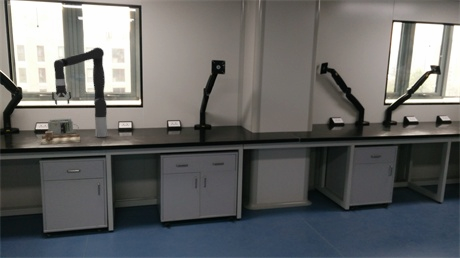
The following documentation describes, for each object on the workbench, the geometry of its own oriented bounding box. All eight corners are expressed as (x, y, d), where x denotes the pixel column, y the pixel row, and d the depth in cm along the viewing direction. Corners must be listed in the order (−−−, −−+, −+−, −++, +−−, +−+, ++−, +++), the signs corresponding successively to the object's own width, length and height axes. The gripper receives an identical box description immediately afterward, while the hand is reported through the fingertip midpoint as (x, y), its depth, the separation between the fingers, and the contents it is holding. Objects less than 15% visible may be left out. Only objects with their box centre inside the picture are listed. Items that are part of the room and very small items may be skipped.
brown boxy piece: (53, 138, 294) (52, 130, 293) (52, 140, 285) (52, 133, 284) (46, 138, 292) (45, 131, 291) (45, 141, 283) (44, 133, 282)
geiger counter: (48, 119, 309) (78, 117, 324) (46, 118, 314) (77, 116, 329) (49, 135, 312) (79, 133, 327) (47, 134, 317) (77, 131, 332)
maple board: (79, 138, 304) (79, 134, 303) (80, 142, 291) (79, 137, 291) (42, 140, 293) (41, 135, 292) (41, 144, 280) (40, 139, 280)
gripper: (70, 84, 302) (71, 103, 305) (51, 84, 296) (52, 104, 299) (70, 84, 295) (71, 104, 298) (50, 85, 289) (52, 105, 293)
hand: (62, 104), depth 299 cm, fingers open, 8 cm apart
